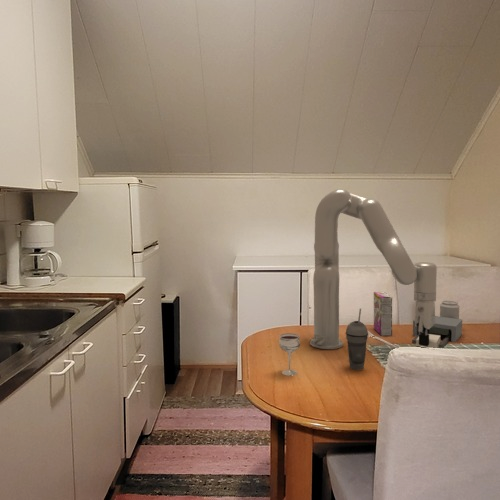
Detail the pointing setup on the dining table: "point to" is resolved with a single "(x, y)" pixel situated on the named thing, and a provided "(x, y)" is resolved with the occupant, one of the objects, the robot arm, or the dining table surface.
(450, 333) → the low shelf
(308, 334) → the dining table surface
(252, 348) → the dining table surface
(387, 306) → the candy bar box
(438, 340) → the cream rectangular block
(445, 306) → the can
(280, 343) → the wineglass
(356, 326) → the beverage cup
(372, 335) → the fork
